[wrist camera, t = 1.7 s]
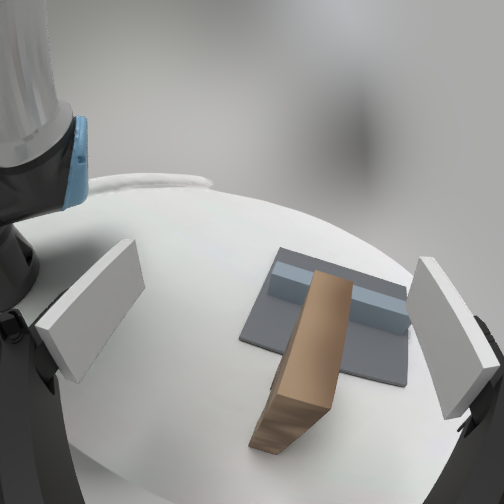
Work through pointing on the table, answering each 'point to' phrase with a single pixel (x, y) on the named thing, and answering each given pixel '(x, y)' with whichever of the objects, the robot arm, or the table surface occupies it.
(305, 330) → the brown notched block
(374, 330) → the grey plate with ridge
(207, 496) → the table surface
